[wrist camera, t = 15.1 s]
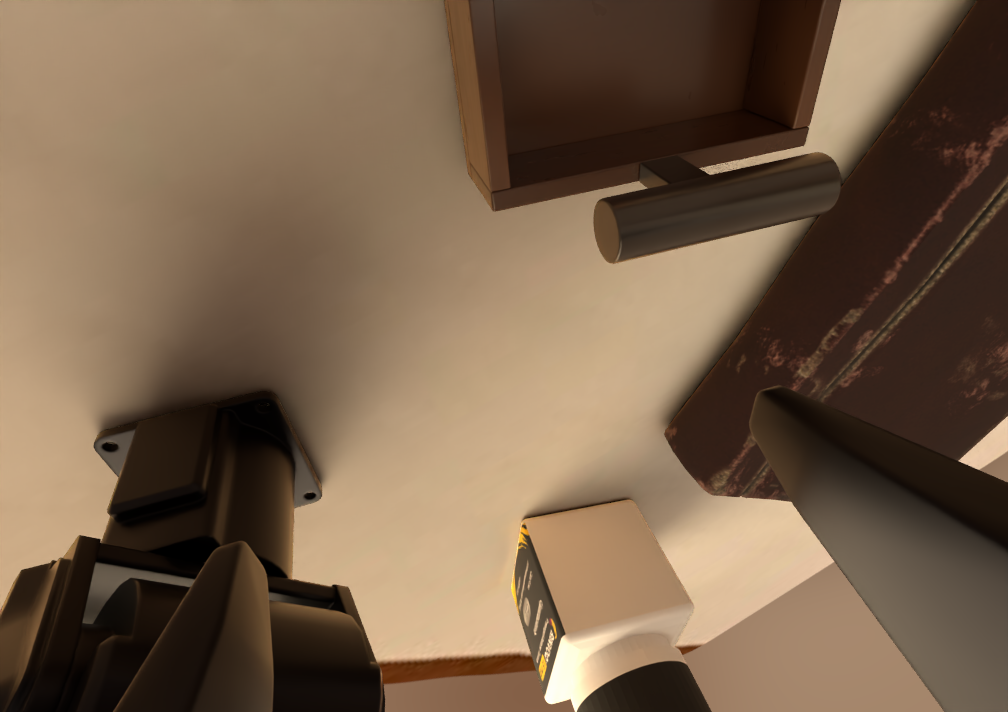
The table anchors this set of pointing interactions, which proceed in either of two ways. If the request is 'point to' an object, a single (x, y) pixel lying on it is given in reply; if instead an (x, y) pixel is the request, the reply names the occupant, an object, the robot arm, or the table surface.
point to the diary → (886, 285)
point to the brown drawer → (645, 111)
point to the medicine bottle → (603, 612)
